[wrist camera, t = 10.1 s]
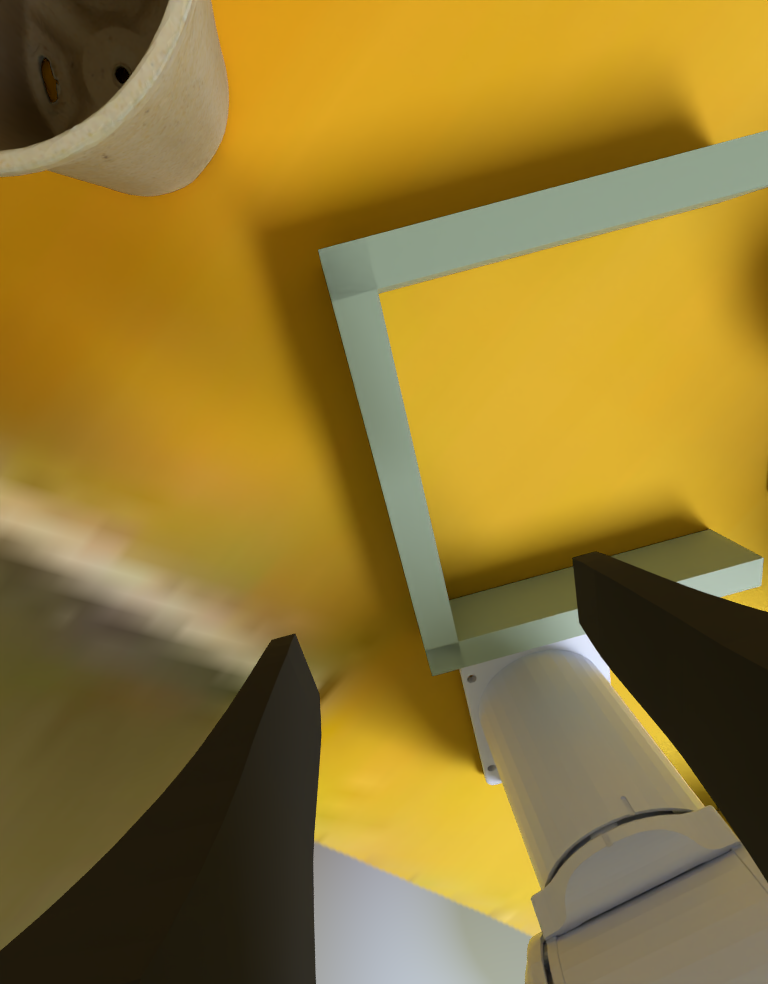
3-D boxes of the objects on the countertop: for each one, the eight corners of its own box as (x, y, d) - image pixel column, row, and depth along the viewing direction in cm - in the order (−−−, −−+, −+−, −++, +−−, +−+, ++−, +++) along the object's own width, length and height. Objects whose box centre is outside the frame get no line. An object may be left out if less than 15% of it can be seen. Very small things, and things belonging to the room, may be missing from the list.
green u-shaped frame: (709, 554, 23) (761, 585, 20) (420, 633, 23) (432, 676, 20) (721, 157, 16) (800, 121, 14) (320, 263, 16) (318, 249, 14)
